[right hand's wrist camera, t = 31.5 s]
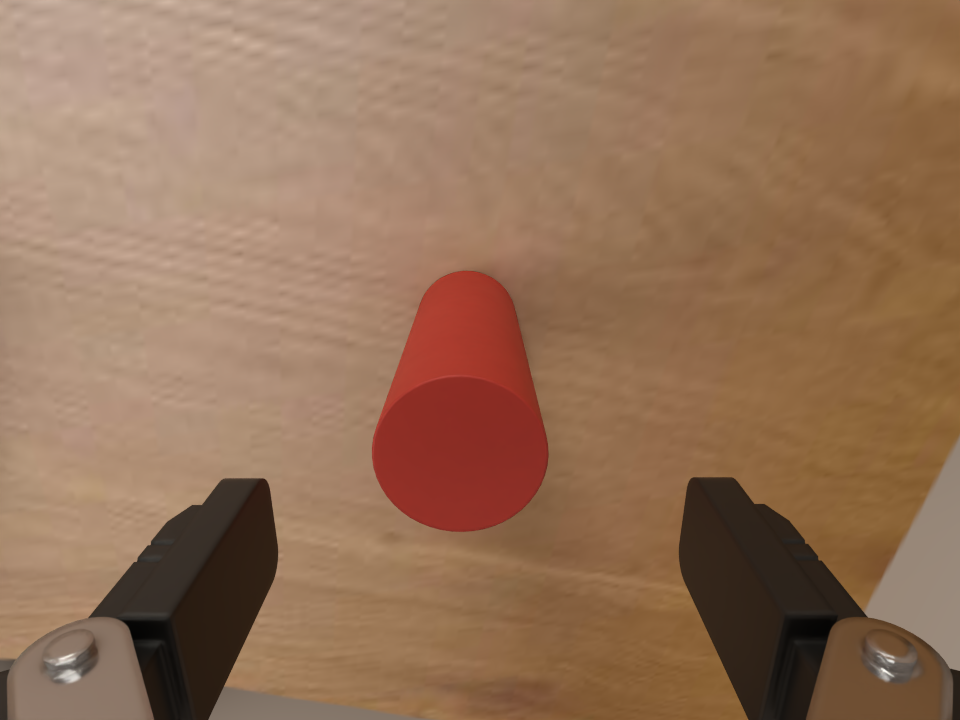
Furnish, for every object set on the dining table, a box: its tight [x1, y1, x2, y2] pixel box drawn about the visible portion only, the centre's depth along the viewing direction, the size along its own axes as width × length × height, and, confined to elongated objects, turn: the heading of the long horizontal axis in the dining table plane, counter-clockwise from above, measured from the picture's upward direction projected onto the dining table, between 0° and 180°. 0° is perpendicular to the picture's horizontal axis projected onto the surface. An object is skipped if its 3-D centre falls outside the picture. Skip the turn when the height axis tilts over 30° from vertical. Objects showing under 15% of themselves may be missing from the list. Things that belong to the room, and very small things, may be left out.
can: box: [372, 271, 548, 532], centre depth 19 cm, size 4×4×12 cm
